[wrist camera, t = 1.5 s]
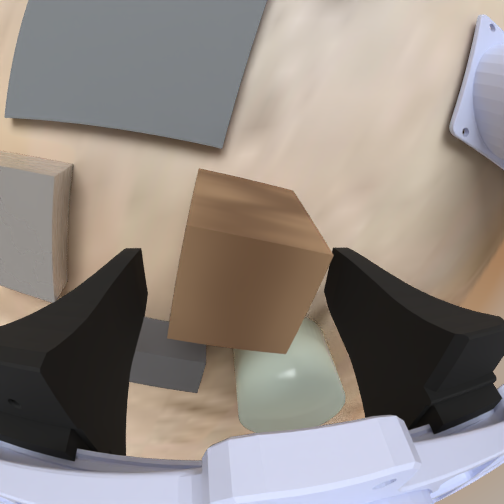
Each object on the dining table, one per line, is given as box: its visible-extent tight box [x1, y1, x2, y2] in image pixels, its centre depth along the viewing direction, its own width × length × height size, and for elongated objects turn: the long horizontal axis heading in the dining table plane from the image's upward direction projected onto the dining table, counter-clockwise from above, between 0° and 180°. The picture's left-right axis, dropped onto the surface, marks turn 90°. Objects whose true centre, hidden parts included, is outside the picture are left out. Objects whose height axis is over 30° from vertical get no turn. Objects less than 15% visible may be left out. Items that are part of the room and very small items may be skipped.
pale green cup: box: [233, 318, 345, 433], centre depth 18 cm, size 6×6×5 cm
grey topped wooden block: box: [0, 151, 73, 303], centre depth 13 cm, size 7×5×2 cm
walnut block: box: [167, 169, 334, 354], centre depth 13 cm, size 4×4×6 cm
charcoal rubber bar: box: [129, 317, 206, 393], centre depth 17 cm, size 8×3×3 cm, turn 74°
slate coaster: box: [5, 0, 267, 149], centre depth 9 cm, size 11×11×1 cm
